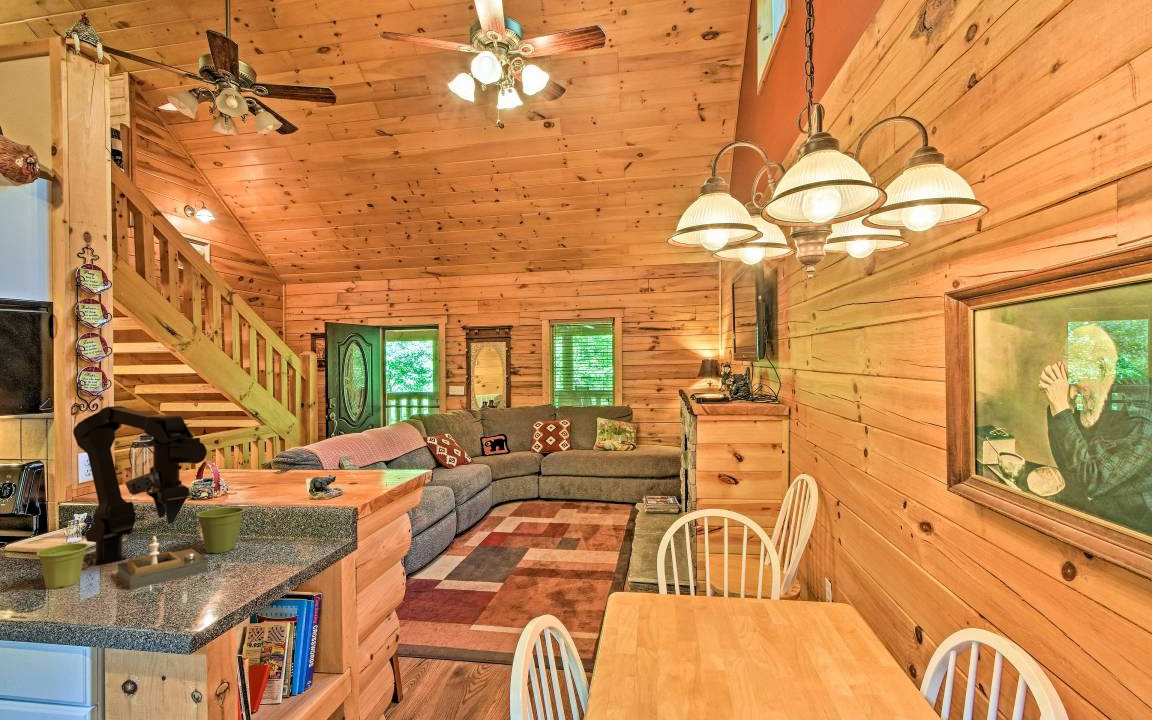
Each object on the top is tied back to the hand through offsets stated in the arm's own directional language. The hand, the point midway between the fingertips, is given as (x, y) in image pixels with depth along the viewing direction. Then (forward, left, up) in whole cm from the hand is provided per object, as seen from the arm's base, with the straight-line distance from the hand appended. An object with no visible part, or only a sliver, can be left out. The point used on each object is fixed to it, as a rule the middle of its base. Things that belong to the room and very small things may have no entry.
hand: (165, 520), depth 149 cm
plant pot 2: (-3, +14, -12) cm, 19 cm away
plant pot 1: (-3, -20, -12) cm, 24 cm away
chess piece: (+7, -4, -12) cm, 15 cm away
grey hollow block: (+7, -2, -12) cm, 14 cm away
